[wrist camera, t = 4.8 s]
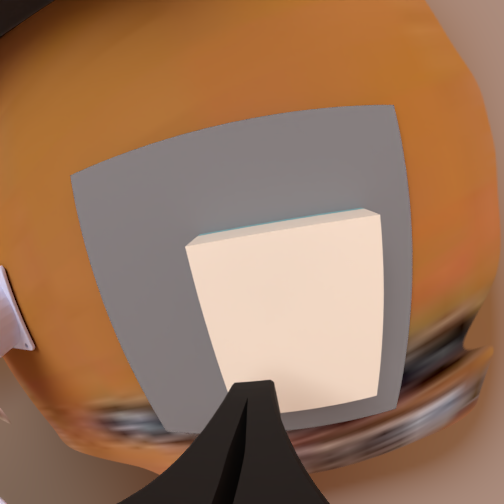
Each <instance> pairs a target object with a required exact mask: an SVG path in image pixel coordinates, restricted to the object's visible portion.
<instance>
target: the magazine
mask: <svg viewBox="0 0 504 504" xmlns="http://www.w3.org/2000/svg"><path fill="white" fill-rule="evenodd" d="M53 1H54V0H0V36H2V35H3V34H5V33H6V32H8V31H9V30H11V29H12V28H14V27H15V26H17V25H18V24H20V23H21V22H23V21H24V20H26V19H27V18H28V17H30V16H31V15H33V14H34V13H36V12H37V11H39V10H40V9H42V8H43V7H45V6H46V5H48V4H49V3H51V2H53Z"/></svg>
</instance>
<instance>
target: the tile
mask: <svg viewBox="0 0 504 504" xmlns="http://www.w3.org/2000/svg"><path fill="white" fill-rule="evenodd" d="M185 248H186V252H187V256H188V260H189V264H190V268H191V272H192V276H193V280H194V283H195V287H196V291H197V295H198V298H199V302H200V305H201V309H202V312H203V316H204V319H205V323H206V326H207V329H208V333H209V336H210V339H211V342H212V346H213V349H214V352H215V355H216V358H217V361H218V364H219V368H220V371H221V374H222V377H223V380H224V382H225V385H226V388H227V391H229V390H230V388H231V386H232V385H233V384H234V383H237V382H250V381H261V380H272V381H273V382H274V384H275V389H276V394H277V399H278V404H279V409H280V413H285V412H293V411H301V410H308V409H314V408H321V407H326V406H332V405H337V404H342V403H347V402H352V401H356V400H361V399H365V398H369V397H373V396H377V390H378V382H379V373H380V363H381V351H382V335H383V309H384V275H383V248H382V232H381V220H380V214H377V213H375V212H372V211H369V210H367V209H364V208H356V209H349V210H342V211H335V212H329V213H322V214H316V215H309V216H303V217H297V218H291V219H284V220H278V221H272V222H266V223H261V224H255V225H249V226H243V227H238V228H232V229H226V230H221V231H215V232H210V233H204V234H200V235H198V236H197V237H196V238H195V239H194V240H192V241H191V242H190V243H189V244H188V245H186V246H185Z"/></svg>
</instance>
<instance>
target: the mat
mask: <svg viewBox="0 0 504 504" xmlns="http://www.w3.org/2000/svg"><path fill="white" fill-rule="evenodd" d="M70 176H71V183H72V188H73V194H74V199H75V204H76V209H77V214H78V218H79V222H80V227H81V231H82V235H83V239H84V242H85V246H86V250H87V253H88V257H89V260H90V264H91V267H92V270H93V273H94V276H95V280H96V283H97V286H98V288H99V291H100V294H101V297H102V300H103V303H104V305H105V308H106V311H107V313H108V316H109V318H110V321H111V323H112V326H113V328H114V331H115V333H116V335H117V338H118V340H119V342H120V345H121V347H122V349H123V351H124V353H125V356H126V358H127V360H128V362H129V364H130V366H131V368H132V370H133V372H134V374H135V376H136V378H137V380H138V382H139V384H140V386H141V388H142V390H143V391H144V393H145V395H146V397H147V399H148V401H149V402H150V404H151V406H152V408H153V409H154V411H155V413H156V414H157V416H158V418H159V419H160V421H161V423H162V424H163V426H164V428H165V429H166V431H169V432H181V433H201V432H202V431H203V429H204V428H205V427H206V425H207V424H208V422H209V421H210V420H211V418H212V417H213V415H214V414H215V412H216V411H217V409H218V408H219V406H220V405H221V403H222V402H223V400H224V398H225V397H226V395H227V393H228V391H227V388H226V385H225V382H224V380H223V377H222V374H221V371H220V368H219V364H218V361H217V358H216V355H215V352H214V349H213V346H212V342H211V339H210V336H209V333H208V329H207V326H206V323H205V319H204V316H203V312H202V309H201V305H200V302H199V298H198V295H197V291H196V287H195V283H194V280H193V276H192V272H191V268H190V264H189V260H188V256H187V252H186V248H185V246H186V245H188V244H189V243H190V242H191V241H192V240H194V239H195V238H196V237H197V236H198V235H200V234H204V233H210V232H215V231H221V230H226V229H232V228H238V227H243V226H249V225H255V224H261V223H266V222H272V221H278V220H284V219H291V218H297V217H303V216H309V215H316V214H322V213H329V212H335V211H342V210H349V209H356V208H364V209H367V210H369V211H372V212H375V213H377V214H380V220H381V232H382V248H383V275H384V309H383V335H382V351H381V363H380V373H379V382H378V390H377V396H373V397H369V398H365V399H361V400H356V401H352V402H347V403H342V404H337V405H332V406H326V407H321V408H314V409H308V410H301V411H293V412H285V413H280V414H281V420H282V423H283V425H284V428H285V430H286V431H287V430H296V429H303V428H311V427H317V426H323V425H329V424H335V423H340V422H345V421H349V420H354V419H358V418H363V417H367V416H371V415H375V414H379V413H382V412H386V411H389V410H393V409H396V406H397V401H398V397H399V392H400V387H401V382H402V376H403V370H404V364H405V357H406V350H407V342H408V334H409V324H410V312H411V295H412V228H411V212H410V200H409V190H408V181H407V173H406V166H405V159H404V153H403V147H402V142H401V136H400V131H399V126H398V122H397V117H396V113H395V108H394V105H365V106H346V107H332V108H321V109H311V110H303V111H295V112H288V113H281V114H274V115H268V116H262V117H257V118H251V119H246V120H241V121H236V122H231V123H227V124H222V125H218V126H214V127H210V128H206V129H202V130H198V131H194V132H190V133H186V134H183V135H179V136H176V137H172V138H169V139H166V140H162V141H159V142H156V143H153V144H150V145H147V146H144V147H141V148H138V149H135V150H132V151H129V152H127V153H124V154H121V155H119V156H116V157H113V158H111V159H108V160H106V161H103V162H101V163H98V164H96V165H93V166H91V167H89V168H86V169H84V170H82V171H79V172H77V173H75V174H73V175H70Z"/></svg>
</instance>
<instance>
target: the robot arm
mask: <svg viewBox="0 0 504 504" xmlns="http://www.w3.org/2000/svg"><path fill="white" fill-rule="evenodd" d="M11 348H17V349H24V350H31V351H33V350H34V349H35V345H34V343H33V341H32V339H31V337H30V335H29V332H28V330H27V328H26V326H25V323H24V321H23V319H22V316H21V314H20V311H19V309H18V306H17V304H16V301H15V299H14V296H13V293H12V290H11V287H10V284H9V281H8V278H7V275H6V272H5V269H4V267H3V266H0V358H1V357H2V356H3V355H4V354H5V353H7V352H8V351H9V350H10V349H11ZM0 504H8V503H7V502H5V501H4V500H3V499H2V498H0ZM117 504H329V502H328V501H327V500H326V498H325V497H324V496H323V494H322V493H321V492H320V490H319V489H318V488H317V486H316V485H315V483H314V482H313V480H312V479H311V477H310V476H309V474H308V473H307V471H306V469H305V468H304V466H303V464H302V463H301V461H300V459H299V457H298V456H297V454H296V452H295V450H294V448H293V446H292V444H291V442H290V439H289V437H288V435H287V433H286V430H285V428H284V425H283V423H282V420H281V414H280V409H279V404H278V399H277V394H276V389H275V384H274V382H273V381H272V380H261V381H250V382H237V383H234V384H233V385H232V386H231V388H230V390H229V391H228V393H227V395H226V397H225V398H224V400H223V402H222V403H221V405H220V406H219V408H218V409H217V411H216V412H215V414H214V415H213V417H212V418H211V420H210V421H209V422H208V424H207V425H206V427H205V428H204V429H203V431H202V432H201V433H200V434H199V436H198V437H197V438H196V439H195V441H194V442H193V443H192V444H191V445H190V447H189V448H188V449H187V450H186V451H185V452H184V453H183V454H182V455H181V456H180V457H179V458H178V459H177V460H176V461H175V462H174V463H173V464H172V465H171V466H170V467H169V468H168V469H167V470H166V471H164V472H163V473H162V474H161V475H160V476H158V477H157V478H156V479H155V480H153V481H152V482H151V483H149V484H148V485H147V486H145V487H144V488H142V489H141V490H139V491H138V492H136V493H134V494H133V495H131V496H130V497H128V498H126V499H125V500H123V501H121V502H119V503H117Z"/></svg>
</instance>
